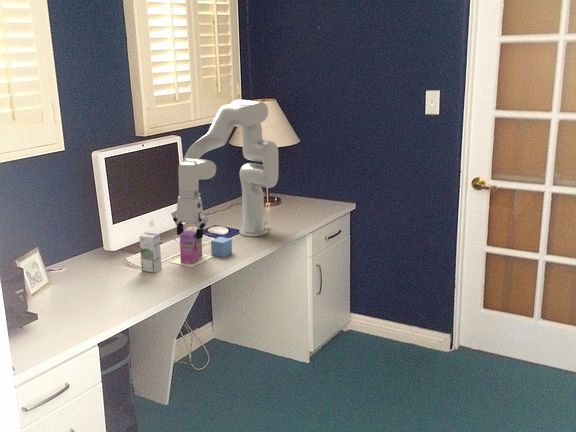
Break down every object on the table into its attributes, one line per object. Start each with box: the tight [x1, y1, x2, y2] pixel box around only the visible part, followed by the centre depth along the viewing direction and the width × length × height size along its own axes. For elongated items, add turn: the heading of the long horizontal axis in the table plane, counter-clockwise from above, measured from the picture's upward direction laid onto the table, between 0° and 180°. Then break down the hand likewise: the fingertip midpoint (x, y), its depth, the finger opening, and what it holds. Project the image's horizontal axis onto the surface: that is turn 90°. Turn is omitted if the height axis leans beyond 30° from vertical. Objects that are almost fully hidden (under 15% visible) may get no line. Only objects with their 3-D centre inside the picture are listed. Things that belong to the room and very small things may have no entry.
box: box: [179, 226, 203, 264], centre depth 266 cm, size 10×6×12 cm, turn 168°
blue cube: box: [210, 236, 233, 258], centre depth 274 cm, size 6×6×6 cm
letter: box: [169, 253, 214, 268], centre depth 268 cm, size 14×11×1 cm
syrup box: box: [139, 231, 162, 274], centre depth 255 cm, size 6×6×14 cm
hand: (189, 236), depth 265 cm, fingers open, 9 cm apart
